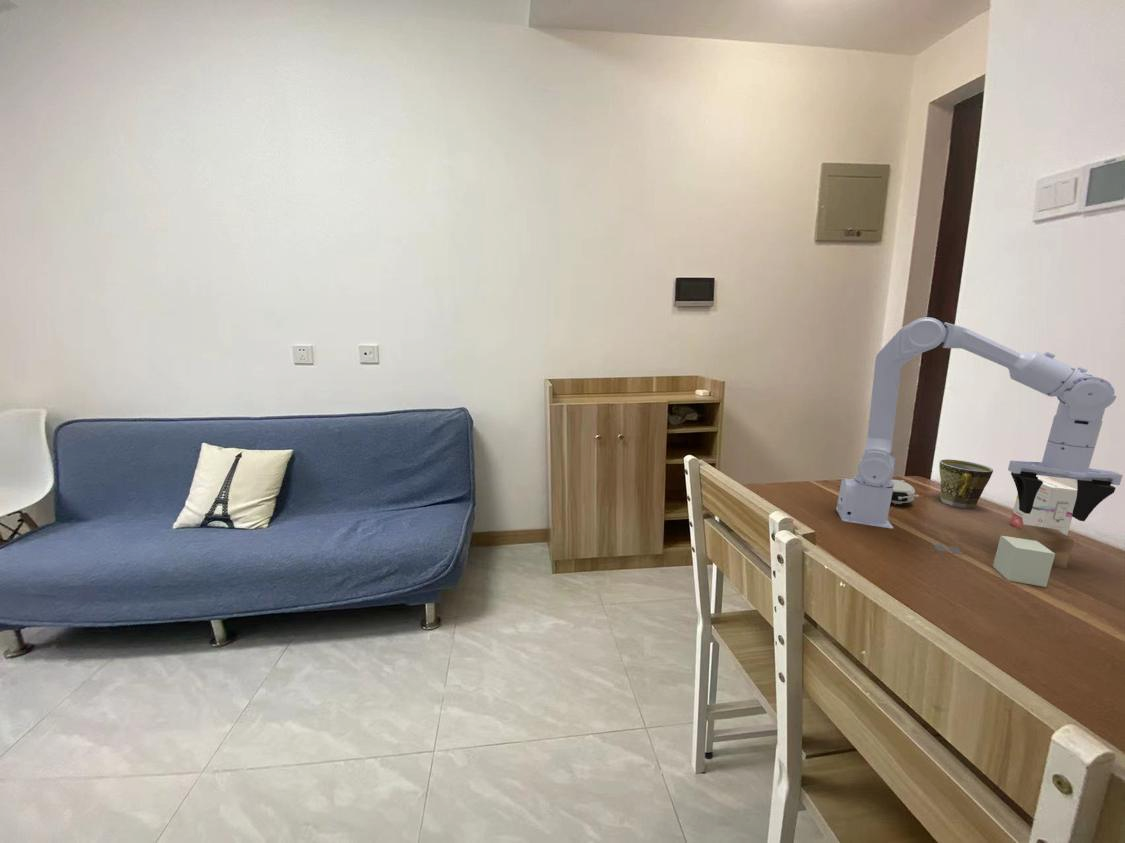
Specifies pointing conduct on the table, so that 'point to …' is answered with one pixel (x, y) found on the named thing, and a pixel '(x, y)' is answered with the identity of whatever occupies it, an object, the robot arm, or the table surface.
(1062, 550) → the walnut block
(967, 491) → the ceramic cup
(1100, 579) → the table surface
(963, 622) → the table surface
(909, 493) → the robot toy
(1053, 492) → the ink cartridge box
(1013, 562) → the sage block
